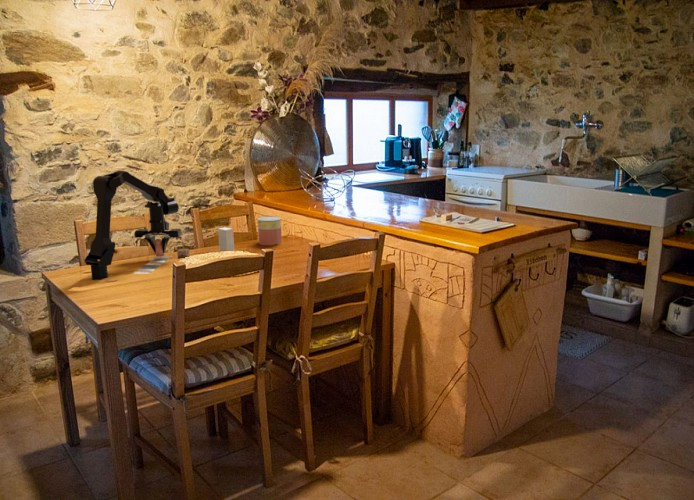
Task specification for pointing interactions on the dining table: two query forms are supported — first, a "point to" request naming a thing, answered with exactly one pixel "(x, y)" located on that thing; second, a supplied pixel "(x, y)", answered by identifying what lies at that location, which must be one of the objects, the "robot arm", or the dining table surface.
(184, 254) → the die
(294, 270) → the dining table surface
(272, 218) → the canned food
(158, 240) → the pink upright cylinder
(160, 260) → the track board
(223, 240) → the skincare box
